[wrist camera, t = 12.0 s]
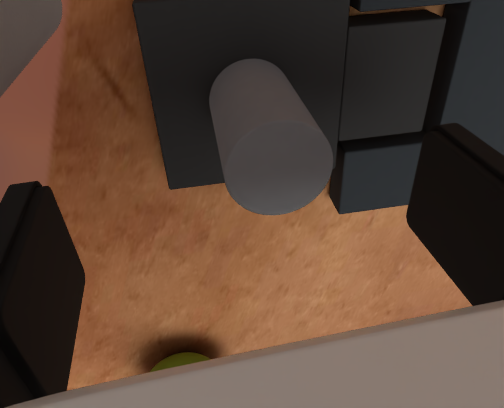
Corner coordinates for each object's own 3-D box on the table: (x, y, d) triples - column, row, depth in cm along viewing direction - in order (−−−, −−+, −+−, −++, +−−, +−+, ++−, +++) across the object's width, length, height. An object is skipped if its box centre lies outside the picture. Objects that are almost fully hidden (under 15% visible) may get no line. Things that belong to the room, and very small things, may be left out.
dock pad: (328, 196, 20) (338, 215, 19) (353, -111, 13) (372, -112, 12) (552, 166, 22) (574, 181, 20) (687, -130, 14) (734, -133, 13)
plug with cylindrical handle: (169, 171, 18) (170, 281, 13) (134, -7, 14) (115, 51, 9) (400, 142, 19) (486, 233, 14) (433, -31, 15) (575, 8, 10)
